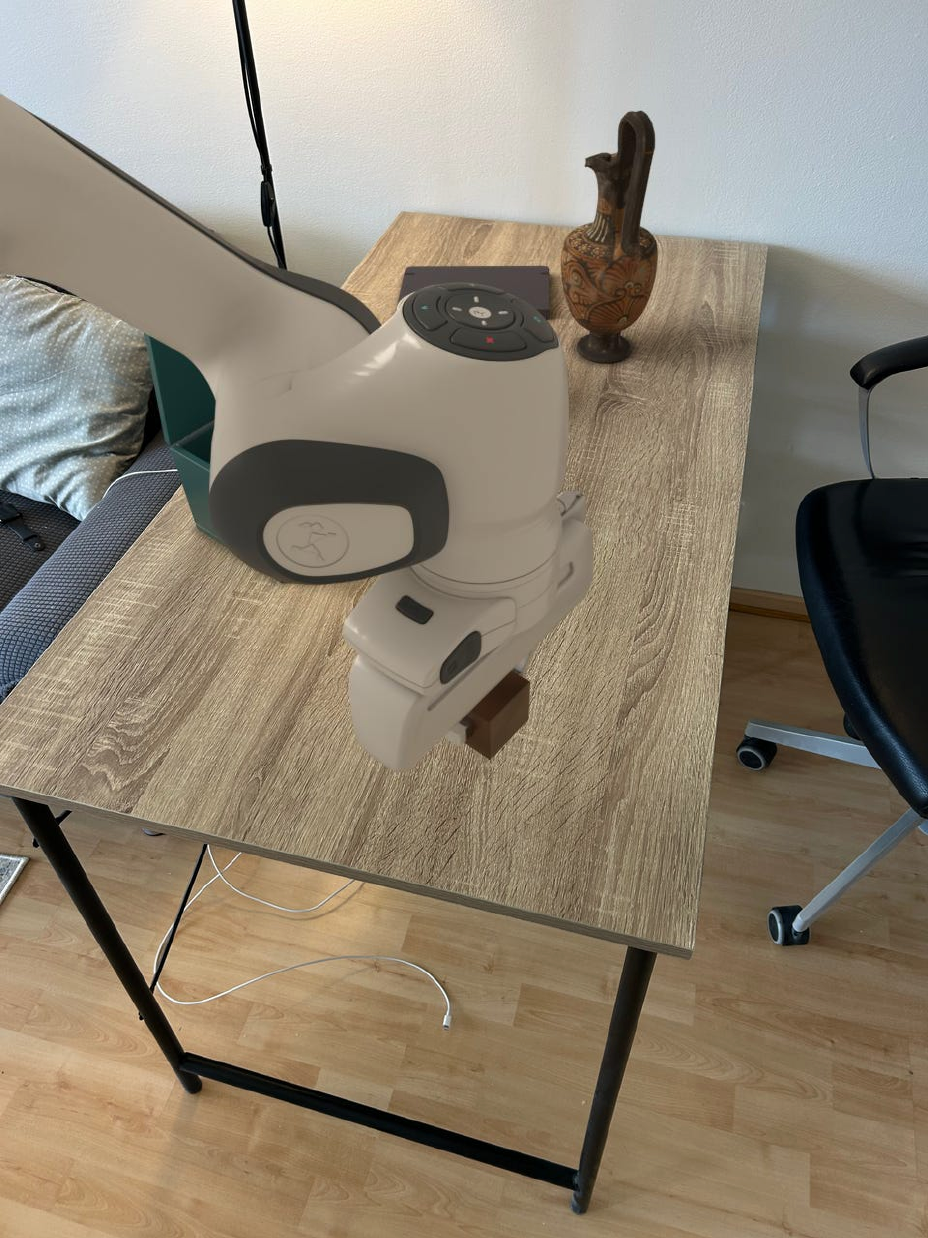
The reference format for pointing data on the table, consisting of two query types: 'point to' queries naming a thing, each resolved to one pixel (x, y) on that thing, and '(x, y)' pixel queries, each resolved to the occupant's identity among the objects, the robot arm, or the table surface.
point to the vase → (613, 246)
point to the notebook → (485, 281)
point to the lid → (179, 391)
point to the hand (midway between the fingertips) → (484, 709)
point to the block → (500, 715)
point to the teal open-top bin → (197, 475)
